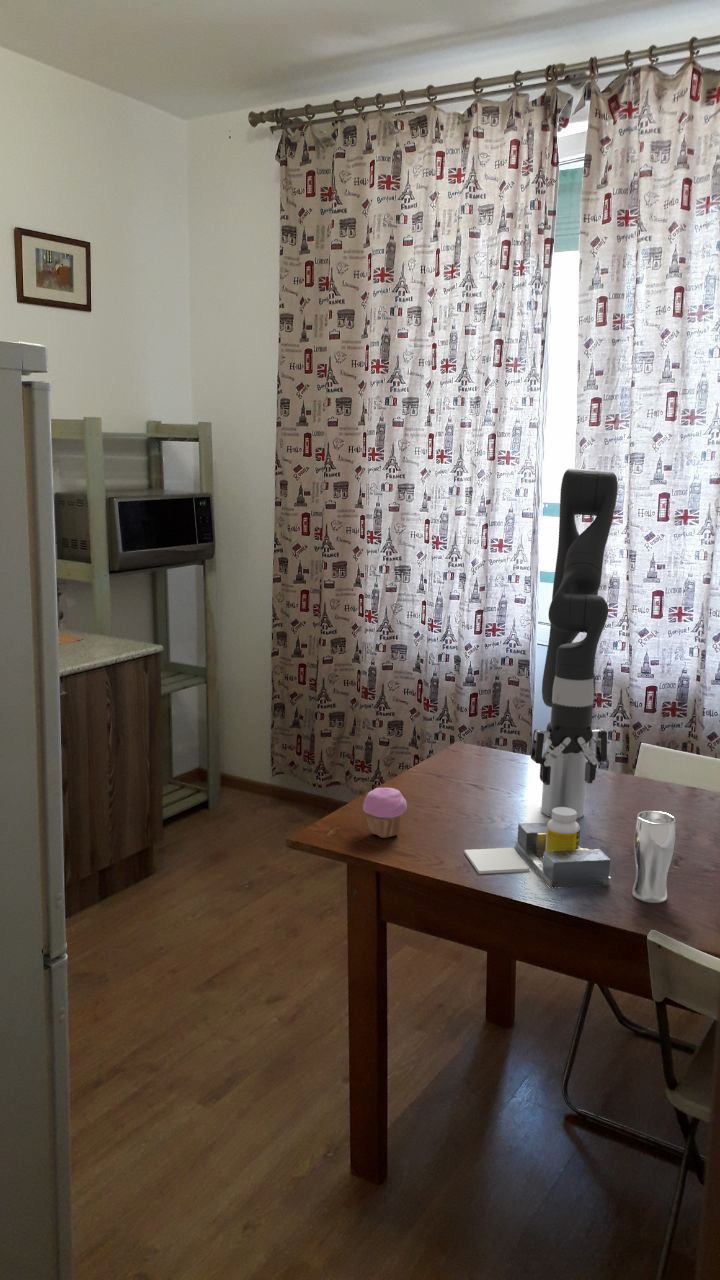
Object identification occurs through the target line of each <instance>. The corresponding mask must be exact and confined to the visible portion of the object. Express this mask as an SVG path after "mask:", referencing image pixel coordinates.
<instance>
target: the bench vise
mask: <svg viewBox="0 0 720 1280" xmlns="http://www.w3.org/2000/svg"><path fill="white" fill-rule="evenodd" d="M548 822H549V821H546V822H545V821H544V822H540V821H539V822H523V823H518V826H517V839H516V840H515V842H514V843H515V844H514V845H515V846H514V847H515V849H516V850H517V851H518V852H519V853H520V854H521V856H522V857H523V858H524V860H526V863H528V864H529V865H530V867H531V868H532V869H533V870H534V871H535V873H536V874H537V875H538V876H539V877H540V879H541V878H542V879H543V880H542V879H541V880H542V881H543V882H544V883H545V885H546V884H547V885H548V886H549V887H550V888H549V887H548V886H547V885H546V886H547V887H548V888H549V889H559V888H558V887H565V888H577V887H576V886H578V888H580V886H582V887H597V886H611V880H612V877H611V876H610V868H611V859H610V858H609V857H608V856H607V855H606V854H605V853H604V852H603V851H602V850H601V849H600V848H590V849H589V848H587V847H586V848H582V847H581V846H580V845H579V846H578V849H561V850H552V851H546V852H545V847H546V832H547V823H548ZM580 834H581V831H580V832H579V839H580V837H581V835H580ZM538 857H542V860H540V859H539V858H538ZM552 887H553V888H552ZM555 887H556V888H555ZM582 887H581V888H582Z"/></svg>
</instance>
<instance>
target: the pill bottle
mask: <svg viewBox="0 0 720 1280" xmlns="http://www.w3.org/2000/svg"><path fill="white" fill-rule="evenodd" d="M576 818H577V812H576V811H575V810H574V809H571V808H567V807H556V808H554V809H552V817H551V819H550V820H549V821H547V822H548V823H547V832H546V847H545V852H546V851H552V850H561V849H578V846H580V838H579V832H580V833H581V829H580V825H579V823H578V822H577V821H576V820H577V819H578V818H577V819H576Z"/></svg>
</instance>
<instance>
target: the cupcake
mask: <svg viewBox="0 0 720 1280" xmlns="http://www.w3.org/2000/svg"><path fill="white" fill-rule="evenodd" d="M407 807H408V805H407V800H406V799H405V797H404V796H403V794H402V793H401V791H400V790H399V789H396V788H394V787H376V788H374V789H372V790H371V791H369V792H368V793H367V794H366V796H365V798H364V801H363V804H362V809H363V811H364V813H365V815H366V822H367V825H368V827H369V830H370V832H371V833H372V834H373V835H377V836H378V837H380V838H382V839H386V838H391V837H394V836H397V835H398V834H399V833H400V830H401V829H400V828H401V827H400V826H401V820H402V815H403V814H404V813H405V812H406V811H407Z"/></svg>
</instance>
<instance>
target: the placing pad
mask: <svg viewBox="0 0 720 1280" xmlns="http://www.w3.org/2000/svg"><path fill="white" fill-rule="evenodd" d="M463 853H464V855H465V856H466V858H467V859H468V860H469V862H470V863H471V864H472V866H473V867H474V869H475V871H476V873H478V875H484V874H485V875H486V874H504V873H524V872H531V868H530V866H529V865H528V864H527V862H525V860H524V859H523V858H522V857H521V856H520V855H519V854H518V852H517V851H516V850H515V849H514V847H497V848H481V849H480V848H474V849H463Z"/></svg>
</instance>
